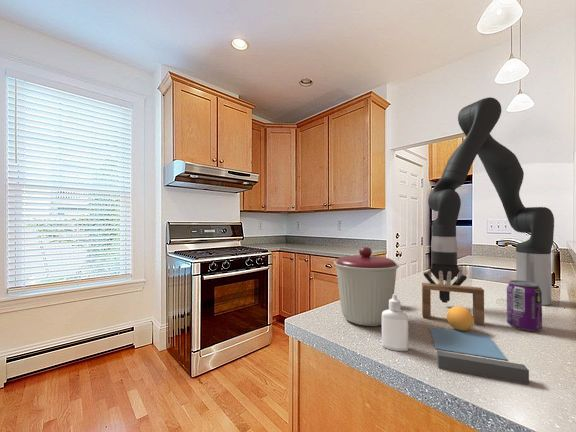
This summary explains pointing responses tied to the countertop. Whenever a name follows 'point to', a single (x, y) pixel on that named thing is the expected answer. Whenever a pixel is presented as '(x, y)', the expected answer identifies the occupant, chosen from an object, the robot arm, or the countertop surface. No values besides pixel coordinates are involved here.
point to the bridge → (477, 291)
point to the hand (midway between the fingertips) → (444, 301)
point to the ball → (460, 318)
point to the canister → (365, 286)
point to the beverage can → (524, 305)
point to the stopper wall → (483, 367)
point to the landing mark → (465, 343)
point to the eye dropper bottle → (394, 327)
